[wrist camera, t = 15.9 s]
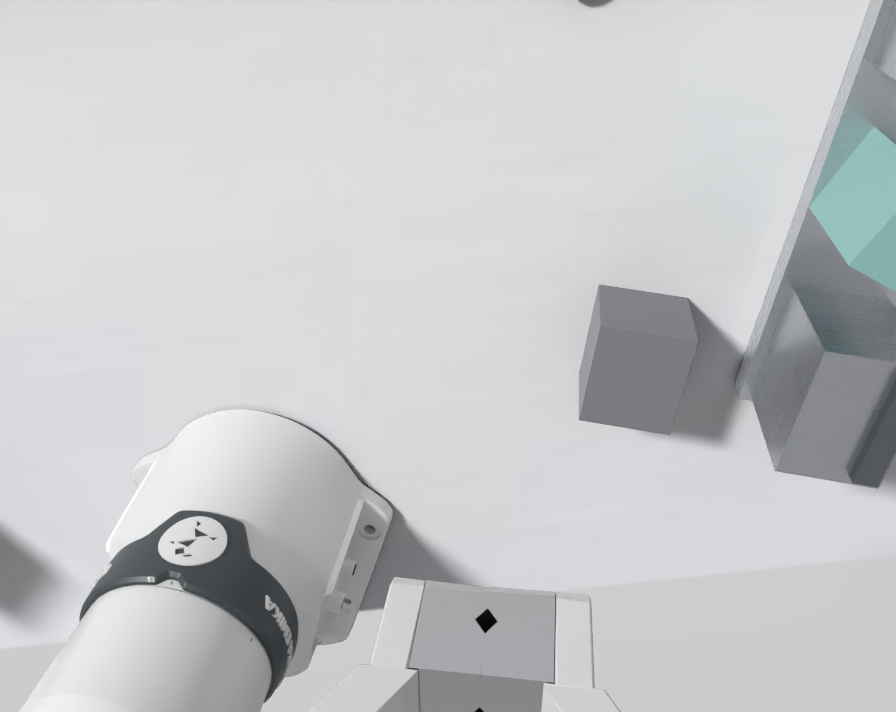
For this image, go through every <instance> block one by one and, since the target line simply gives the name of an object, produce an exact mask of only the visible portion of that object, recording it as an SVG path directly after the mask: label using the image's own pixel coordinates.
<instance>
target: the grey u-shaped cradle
mask: <svg viewBox="0 0 896 712" xmlns="http://www.w3.org/2000/svg"><path fill="white" fill-rule="evenodd" d="M874 127H876V128H878V129H879V130H881V131H883V132H884V133H886V134H888V135H890V136H891V137H893V138H895V139H896V0H871V2H870V5H869V8H868V11H867V13H866V16H865V19H864V22H863V25H862V27H861V30H860V33H859V36H858V39H857V42H856V44H855V47H854V50H853V53H852V56H851V58H850V61H849V64H848V67H847V70H846V72H845V75H844V78H843V81H842V84H841V86H840V89H839V92H838V95H837V98H836V100H835V103H834V106H833V109H832V112H831V114H830V117H829V120H828V123H827V126H826V128H825V131H824V134H823V137H822V140H821V142H820V145H819V148H818V151H817V154H816V157H815V159H814V162H813V165H812V168H811V171H810V173H809V176H808V179H807V182H806V185H805V187H804V190H803V193H802V196H801V199H800V201H799V204H798V207H797V210H796V213H795V215H794V218H793V221H792V224H791V227H790V229H789V232H788V235H787V238H786V241H785V243H784V246H783V249H782V252H781V255H780V257H779V260H778V263H777V266H776V269H775V272H774V274H773V277H772V280H771V283H770V286H769V288H768V291H767V294H766V297H765V300H764V302H763V305H762V308H761V311H760V314H759V316H758V319H757V322H756V325H755V328H754V330H753V333H752V336H751V339H750V342H749V344H748V347H747V350H746V353H745V356H744V358H743V361H742V364H741V367H740V370H739V373H738V375H737V378H736V381H735V384H734V385H735V388H736V392H737V395H738V398H739V399H745V400H751V401H753V404H754V407H755V410H756V413H757V416H758V420H759V423H760V426H761V429H762V432H763V435H764V438H765V441H766V445H767V448H768V451H769V454H770V457H771V460H772V463H773V466H774V470H775V471H778V472H784V473H790V474H796V475H801V476H807V477H813V478H819V479H825V480H830V481H836V482H842V483H848V484H854V485H860V486H865V487H871V488H877V489H878V488H879V487H880V485H881V483H882V481H883V479H884V477H885V475H886V473H887V471H888V469H889V467H890V465H891V463H892V461H893V460H894V458H895V456H896V308H895V307H896V292H895V291H893V290H891V289H889V288H888V287H886V286H884V285H882V284H881V283H879V282H877V281H875V280H873V279H872V278H870V277H868V276H866V275H865V274H863V273H861V272H859V271H857V270H856V269H854V268H852V267H850V266H849V265H848V264H847V262H846V261H845V259H844V258H843V257H842V255H841V254H840V252H839V251H838V249H837V248H836V246H835V245H834V243H833V242H832V240H831V239H830V237H829V236H828V234H827V233H826V231H825V230H824V229H823V227H822V226H821V224H820V223H819V221H818V220H817V218H816V217H815V215H814V214H813V212H812V211H811V209H810V208H809V206H810V205H811V203H812V202H813V201H814V200H815V199H816V197H817V196H818V195H819V194H820V192H821V191H822V190H823V189H824V188H825V186H826V185H827V184H828V183H829V181H830V180H831V179H832V178H833V177H834V175H835V174H836V173H837V172H838V170H839V169H840V168H841V167H842V166H843V164H844V163H845V162H846V161H847V159H848V158H849V157H850V156H851V155H852V153H853V152H854V151H855V150H856V148H857V147H858V146H859V145H860V144H861V142H862V141H863V140H864V139H865V137H866V136H867V135H868V134H869V133H870V131H871V130H872V129H873V128H874Z"/></svg>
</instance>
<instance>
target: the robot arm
mask: <svg viewBox="0 0 896 712" xmlns="http://www.w3.org/2000/svg"><path fill="white" fill-rule="evenodd" d="M133 479H134V482H135V484H136V487H137V489H138V490H137V491H136V493H135V495H134V496H133V498H132V500H131V501H130V503H129V505H128V507H127V508H126V510H125V512H124V513H123V515H122V517H121V518H120V520H119V522H118V524H117V525H116V527H115V529H114V530H113V532H112V534H111V536H110V537H109V539H108V542H107V545H106V551H107V552H108V553H109V558H110V564H109V565H108V566H107V568H106V569H105V570H103V571H102V572H101V574H100V575H99V577H98V578H97V580H96V581H95V583H94V584H93V586H92V588H91V591H90V593H89V596H88V597H87V599H86V601H85V602H84V604H83V606H82V609H81V613H80V622H79V624H78V625H77V627H76V628H75V630H74V631H73V633H72V634H71V636H70V637H69V639H68V640H67V641H66V643H65V644H64V646H63V647H62V649H61V650H60V652H59V653H58V655H57V656H56V658H55V659H54V661H53V662H52V663H51V665H50V666H49V668H48V669H47V671H46V672H45V674H44V675H43V677H42V678H41V680H40V681H39V683H38V684H37V686H36V687H35V688H34V690H33V691H32V693H31V694H30V696H29V697H28V699H27V700H26V702H25V703H24V705H23V706H22V708H21V709H20V711H19V712H260V711H261V708H262V705H263V703H265V702H266V701H267V700H268V699H269V698H270V697H271V696H272V694H273V693H274V691H275V689H277V687H278V686H279V685H280V684H281V682H282V680H283V679H284V677H290V676H294V675H297V674H300V673H301V672H303V671H305V670H306V669H307V668H308V666H309V663H310V661H311V658H312V656H313V653H314V650H315V647H316V645H326V644H332V643H337V642H341V641H344V640H345V639H347V637H348V635H349V633H350V631H351V629H352V626H353V624H354V621H355V619H356V616H357V613H358V610H359V608H360V605H361V602H362V600H363V597H364V594H365V591H366V589H367V586H368V583H369V580H370V578H371V575H372V572H373V569H374V567H375V564H376V561H377V559H378V556H379V553H380V550H381V548H382V545H383V542H384V539H385V537H386V534H387V531H388V528H389V526H390V523H391V520H392V517H393V510H392V508H391V506H390V505H389V504H388V503H387V502H386V501H385V500H384V499H383V498H381V497H380V496H379V495H377V494H376V493H375V492H373V491H372V490H370V489H369V488H367V487H366V486H365V485H363V484H362V483H361V482H360V481H359V480H358V478H357V477H356V476H355V474H354V473H353V472H352V470H351V469H350V467H349V466H348V464H347V463H346V462H345V460H344V459H343V458H342V457H341V456H340V454H339V453H338V452H337V451H336V450H335V449H334V448H333V447H332V446H331V445H330V444H328V443H327V442H326V441H325V440H324V439H322V438H321V437H320V436H318V435H317V434H315V433H314V432H312V431H311V430H309V429H307V428H306V427H304V426H302V425H300V424H298V423H296V422H293V421H291V420H289V419H286V418H284V417H280V416H277V415H274V414H270V413H266V412H261V411H254V410H224V411H219V412H214V413H210V414H207V415H205V416H202V417H200V418H198V419H196V420H194V421H192V422H191V423H190V424H188V425H187V426H186V427H184V428H183V429H182V430H181V431H180V432H179V433H178V435H177V436H176V437H175V438H174V440H173V441H172V442H171V443H170V444H169V445H168V446H167V447H166V448H165V449H162V450H159V451H156V452H154V453H151V454H149V455H147V456H145V457H143V458H141V459H140V460H139V462H138V463H137V465H136V467H135V469H134V471H133ZM369 525H371V526H373V527H371V526H369ZM308 712H621V711H620V710H619V709H618V707H617V706H616V705H615V703H614V702H613V700H612V699H611V698H610V696H609V695H608V694H607V692H606V691H605V690H602V689H595V685H594V660H593V635H592V611H591V599H590V597H589V595H581V594H570V593H559V592H556V594H555V592H549V591H537V590H524V589H512V588H499V587H481V586H473V585H464V584H456V583H447V582H439V581H430V580H427V581H426V580H417V579H408V578H399V577H394V579H393V581H392V582H391V584H390V587H389V591H388V595H387V599H386V603H385V607H384V611H383V615H382V619H381V622H380V626H379V630H378V635H377V638H376V642H375V647H374V650H373V654H372V658H371V662H370V665H365V664H364V665H363V664H360V665H359V666H358V667H357V668H356V669H355V670H354V671H352V672H351V673H350V674H349V675H348V676H347V677H346V678H345V679H343V680H342V681H341V682H340V683H339V684H338V685H337V686H336V687H335V688H334V689H332V690H331V691H330V692H329V693H328V694H327V695H326V696H325V697H324V698H323V699H322V700H320V701H319V702H318V703H317V704H316V705H315V706H314V707H313V708H312V709H311V710H309V711H308Z"/></svg>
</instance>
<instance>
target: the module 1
mask: <svg viewBox="0 0 896 712" xmlns="http://www.w3.org/2000/svg"><path fill="white" fill-rule="evenodd" d="M698 342H699V341H698V337H697V333H696V329H695V325H694V320H693V316H692V312H691V308H690V304H689V300H688V298H684V297H677V296H671V295H664V294H658V293H651V292H645V291H638V290H631V289H625V288H618V287H612V286H605V285H599V286H598V291H597V295H596V300H595V305H594V309H593V314H592V318H591V323H590V327H589V332H588V336H587V341H586V345H585V350H584V354H583V359H582V363H581V368H580V372H579V420H582V421H588V422H594V423H600V424H606V425H612V426H618V427H624V428H630V429H636V430H642V431H648V432H654V433H660V434H666V435H670V433H671V429H672V426H673V423H674V420H675V417H676V413H677V410H678V407H679V404H680V400H681V397H682V394H683V391H684V388H685V384H686V381H687V378H688V375H689V371H690V368H691V365H692V362H693V358H694V355H695V352H696V349H697V346H698Z"/></svg>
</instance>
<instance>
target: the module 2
mask: <svg viewBox="0 0 896 712" xmlns="http://www.w3.org/2000/svg"><path fill="white" fill-rule="evenodd" d="M809 208H810V209H811V211H812V212H813V214H814V215H815V217H816V218H817V220H818V221H819V223H820V224H821V226H822V227H823V229H824V230H825V231H826V233H827V234H828V236H829V237H830V239H831V240H832V242H833V243H834V245H835V246H836V248H837V249H838V251H839V252H840V254H841V255H842V257H843V258H844V259H845V261H846V262H847V264H848V265H849V266H850V267H852V268H854V269H856V270H857V271H859V272H861V273H863V274H865V275H866V276H868V277H870V278H872V279H873V280H875V281H877V282H879V283H881V284H882V285H884V286H886V287H888V288H889V289H891V290H893V291H895V292H896V139H895V138H893V137H891V136H890V135H888V134H886V133H884V132H883V131H881V130H879V129H878V128H876V127H874V128H873V129H872V130H871V131H870V133H869V134H868V135H867V136H866V137H865V139H864V140H863V141H862V142H861V144H860V145H859V146H858V147H857V148H856V150H855V151H854V152H853V153H852V155H851V156H850V157H849V158H848V159H847V161H846V162H845V163H844V164H843V166H842V167H841V168H840V169H839V170H838V172H837V173H836V174H835V175H834V177H833V178H832V179H831V180H830V181H829V183H828V184H827V185H826V186H825V188H824V189H823V190H822V191H821V192H820V194H819V195H818V196H817V197H816V199H815V200H814V201H813V202H812V203H811V205H810V206H809Z"/></svg>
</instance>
